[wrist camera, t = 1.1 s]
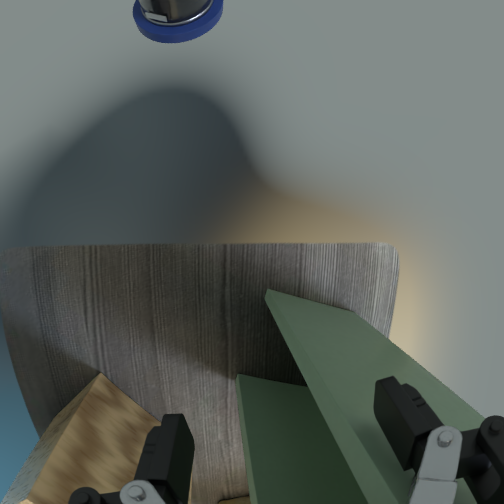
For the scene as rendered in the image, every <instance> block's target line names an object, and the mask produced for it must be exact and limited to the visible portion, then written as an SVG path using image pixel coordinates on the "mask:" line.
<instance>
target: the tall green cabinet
mask: <svg viewBox="0 0 504 504" xmlns="http://www.w3.org/2000/svg"><path fill="white" fill-rule="evenodd" d="M264 299H265V301H266V303H267V305H268V307H269V309H270V311H271V313H272V315H273V317H274V319H275V321H276V323H277V325H278V327H279V329H280V331H281V333H282V335H283V337H284V339H285V341H286V343H287V345H288V347H289V349H290V351H291V353H292V355H293V357H294V359H295V361H296V363H297V365H298V367H299V369H300V371H301V373H302V375H303V377H304V379H305V381H306V383H307V385H308V387H305V386H299V385H293V384H288V383H282V382H277V381H271V380H266V379H261V378H257V377H252V376H247V375H243V374H237V377H236V380H235V384H236V393H237V402H238V410H239V419H240V427H241V435H242V443H243V450H244V458H245V465H246V473H247V480H248V487H249V494H250V501H251V504H405V503H406V501H407V499H408V493H409V490H410V487H411V484H412V481H413V478H414V475H415V472H414V470H413V468H412V469H409V470H407V471H403V469H402V467H401V465H400V463H399V461H398V459H397V457H396V455H395V453H394V452H393V450H392V448H391V446H390V444H389V442H388V440H387V438H386V437H385V435H384V433H383V431H382V429H381V427H380V425H379V424H378V422H377V420H376V418H375V415H374V409H373V404H374V393H375V383H376V381H377V380H380V379H383V378H386V377H389V376H395V378H396V379H397V380H398V382H399V383H400V384H401V385H402V384H405V383H407V384H409V385H411V386H413V387H414V388H416V389H417V390H418V392H419V393H420V394H421V396H422V397H423V398H424V399H425V401H426V403H428V405H429V406H430V407H431V408H432V410H433V411H434V412H435V414H436V415H437V416H438V418H439V419H440V420H441V422H442V423H443V424H444V425H445V426H452V427H455V428H456V429H458V430H459V431H466V430H471V429H476V428H480V425H481V423H482V422H483V420H485V418H484V417H483V416H482V415H480V414H479V413H478V412H477V411H475V410H474V409H473V408H472V407H471V406H470V405H468V404H467V403H466V402H465V401H464V400H462V399H461V398H460V397H459V396H458V395H456V394H455V393H454V392H453V391H452V390H450V389H449V388H448V387H447V386H445V385H444V384H443V383H442V382H441V381H439V380H438V379H437V378H436V377H434V376H433V375H432V374H431V373H430V372H428V371H427V370H426V369H425V368H423V367H422V366H421V365H420V364H419V363H417V362H416V361H415V360H414V359H412V358H411V357H410V356H409V355H407V354H406V353H405V352H404V351H402V350H401V349H400V348H399V347H397V346H396V345H395V344H394V343H392V342H391V341H390V340H389V339H388V338H386V337H385V336H384V335H383V334H381V333H380V332H379V331H378V330H376V329H375V328H374V327H372V326H371V325H370V324H369V323H367V322H366V321H365V320H364V319H362V318H361V317H360V316H359V315H357V314H356V313H355V312H352V311H348V310H344V309H340V308H337V307H333V306H329V305H325V304H322V303H318V302H314V301H311V300H307V299H303V298H300V297H296V296H292V295H289V294H285V293H282V292H278V291H274V290H271V289H267V292H266V295H265V298H264ZM455 481H457V483H458V484H457V490H456V494H455V498H454V502H453V504H477V502H476V500H475V498H474V497H473V495H472V493H471V491H470V489H469V487H468V486H467V484H466V482H465V480H464V478H459V479H455Z"/></svg>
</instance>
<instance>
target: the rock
mask: <svg viewBox="0 0 504 504" xmlns="http://www.w3.org/2000/svg"><path fill="white" fill-rule="evenodd" d="M218 504H251V501H250V496H247V497H240V498H234V499H231V500H224V501H221V502H219V503H218Z"/></svg>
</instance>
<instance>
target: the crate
mask: <svg viewBox="0 0 504 504" xmlns="http://www.w3.org/2000/svg"><path fill="white" fill-rule="evenodd" d="M154 426H161V422H160V421H158V420H157V419H156V418H154V417H153V416H152V415H150V414H149V413H148V412H147V411H145V410H144V409H143V408H142V407H140V406H139V405H138V404H137V403H135V402H134V401H133V400H132V399H131V398H129V397H128V396H127V395H126V394H125V393H123V392H122V391H121V390H120V389H119V388H118V387H117V386H115V385H114V384H113V383H112V382H111V381H110V380H109V379H108V378H106V377H105V376H104V375H103V374H102V373H99V374H98V375H97V376H96V377H95V378H94V379H93V380H92V381H91V382H90V383H89V384H88V385H87V386H86V387H85V388H84V389H83V390H82V391H81V392H80V393H79V394H78V395H77V396H76V397H75V398H74V399H73V400H72V401H71V402H70V403H69V404H68V405H67V406H66V407H64V408H63V409H62V410H61V411H60V412H59V413H58V414H57V415H56V416H55V417H54V419H53V420H52V422H51V423H50V425H49V426H48V428H47V429H46V431H45V432H44V434H43V435H42V437H41V438H40V440H39V441H38V443H37V444H36V446H35V447H34V449H33V451H32V452H31V454H30V455H29V457H28V459H27V460H26V462H25V463H24V465H23V467H22V468H21V470H20V471H19V473H18V475H17V476H16V478H15V480H14V481H13V483H12V485H11V487H10V488H9V490H8V492H7V493H6V495H5V497H4V499H3V500H2V502H1V504H68V501H69V498H70V496H71V494H72V493H73V492H74V491H75V490H76V489H78V488H81V487H91V488H94V489H95V490H96V491H98V493H99V494H104V493H111V492H118V491H121V488H122V487H123V486H124V485H125V484H126V483H128V482H130V481H133V479H134V476H135V473H136V470H137V466H138V463H139V459H140V456H141V453H142V450H143V446H144V445H145V444H144V443H145V440H146V436H147V434H148V433H149V432H150V430H151V429H152V428H153V427H154ZM192 468H193V465H192ZM191 486H192V473H191V482H190V490H189V498H188V504H191Z"/></svg>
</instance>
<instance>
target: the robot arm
mask: <svg viewBox="0 0 504 504" xmlns="http://www.w3.org/2000/svg"><path fill="white" fill-rule="evenodd" d="M139 3H140V6H141V11H142V13H143V16H144V17H145V19H146V20H147V21H149V22H150V23H152V24H154V25H157V26H161V27H178V26H183V25H187V24H190V23H192V22H194V21H196V20H198V19H200V18H201V17H203V16H204V15H205V14H206V13H207V12H208V11H209V10H210V8H211V6H212V4H213V0H139ZM373 409H374V415H375V418H376V420H377V422H378V424H379V425H380V427H381V429H382V431H383V433H384V435H385V437H386V438H387V440H388V442H389V444H390V446H391V448H392V450H393V452H394V453H395V455H396V457H397V459H398V461H399V463H400V465H401V467H402V469H403V471H407V470H409V469H412V468H413V470H414V472H415V475H414V478H413V481H412V484H411V487H410V490H409V493H408V499H407V501H406V503H405V504H453V502H454V498H455V494H456V490H457V484H458V483H457V481H455V479H459V478H464V480H465V482H466V484H467V486H468V487H469V489H470V491H471V493H472V495H473V497H474V498H475V500H476V502H477V504H504V417H501V416H490V417H488V418H486V419H485V420H483V422H482V423H481V425H480V428H476V429H471V430H466V431H459V430H458V429H456V428H455V427H452V426H445V425H444V424H443V423H442V422H441V420H440V419H439V418H438V416H437V415H436V414H435V412H434V411H433V410H432V408H431V407H430V406H429V405H428V403H426V401H425V399H424V398H423V397H422V396H421V394H420V393H419V392H418V390H417V389H416V388H414V387H413V386H411V385H409V384H407V383H405V384H402V385H401V384H400V383H399V382H398V380H397V379H396V378H395V376H389V377H386V378H383V379H380V380H377V381H376V383H375V393H374V404H373ZM144 444H145V445H144V446H143V450H142V453H141V456H140V459H139V463H138V466H137V470H136V473H135V476H134V479H133V481H130V482H128V483H126V484H125V485H124V486H123V487H122V488H121V491H118V492H111V493H104V494H99V493H98V491H96V490H95V489H94V488H91V487H81V488H78V489H76V490H75V491H74V492H73V493H72V494H71V496H70V498H69V501H68V504H188V498H189V490H190V482H191V473H192V465H193V458H194V450H195V446H194V439H193V436H192V434H191V432H190V429H189V427H188V424H187V422H186V420H185V417H184V415H183V414H165V415H164V416H163V419H162V423H161V426H154V427H153V428H152V429H151V430H150V432H149V433H148V434H147V436H146V440H145V443H144Z"/></svg>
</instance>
